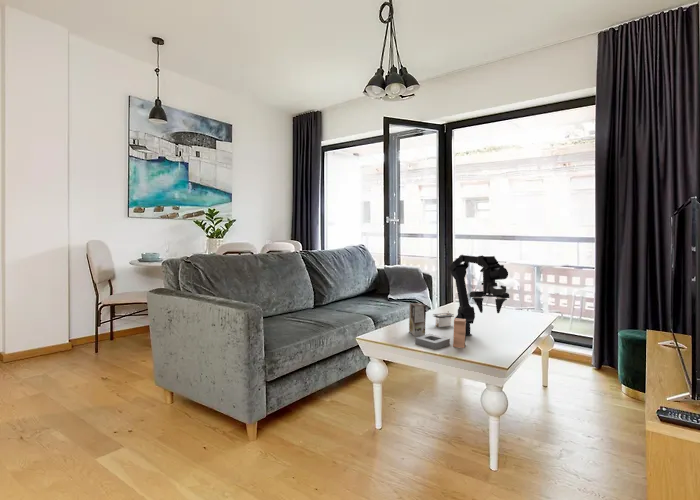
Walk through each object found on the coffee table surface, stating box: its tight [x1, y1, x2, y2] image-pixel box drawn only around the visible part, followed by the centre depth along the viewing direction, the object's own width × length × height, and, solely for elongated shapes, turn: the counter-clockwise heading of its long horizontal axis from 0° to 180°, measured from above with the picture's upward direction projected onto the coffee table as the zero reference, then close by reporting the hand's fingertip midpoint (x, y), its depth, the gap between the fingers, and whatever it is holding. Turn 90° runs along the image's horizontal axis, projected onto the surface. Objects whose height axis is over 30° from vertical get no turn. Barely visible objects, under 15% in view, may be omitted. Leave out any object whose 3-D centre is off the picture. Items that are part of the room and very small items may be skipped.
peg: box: [452, 318, 466, 349], centre depth 194 cm, size 5×5×13 cm
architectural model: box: [432, 312, 454, 328], centre depth 234 cm, size 20×25×10 cm
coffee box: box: [408, 302, 427, 337], centre depth 215 cm, size 9×6×16 cm
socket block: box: [414, 333, 451, 350], centre depth 196 cm, size 12×12×3 cm
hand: (489, 313), depth 192 cm, fingers open, 9 cm apart
